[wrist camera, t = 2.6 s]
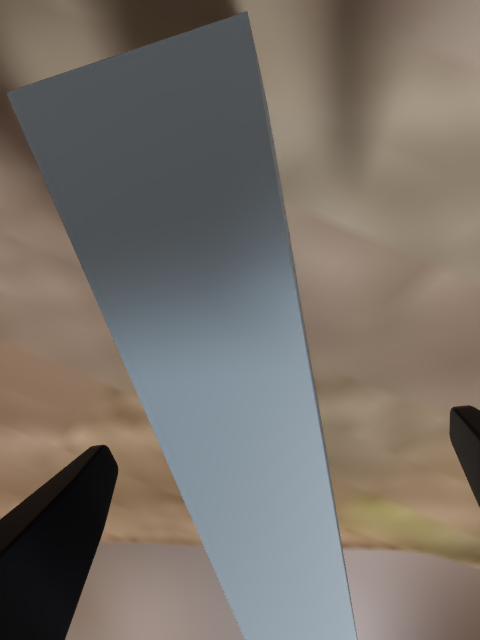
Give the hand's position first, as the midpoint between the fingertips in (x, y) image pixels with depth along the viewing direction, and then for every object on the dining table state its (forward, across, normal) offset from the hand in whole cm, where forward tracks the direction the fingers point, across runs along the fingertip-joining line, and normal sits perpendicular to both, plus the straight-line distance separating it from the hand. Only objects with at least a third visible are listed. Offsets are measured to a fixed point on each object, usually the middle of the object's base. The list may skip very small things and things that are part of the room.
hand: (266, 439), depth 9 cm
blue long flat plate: (+6, 0, 0) cm, 6 cm away
